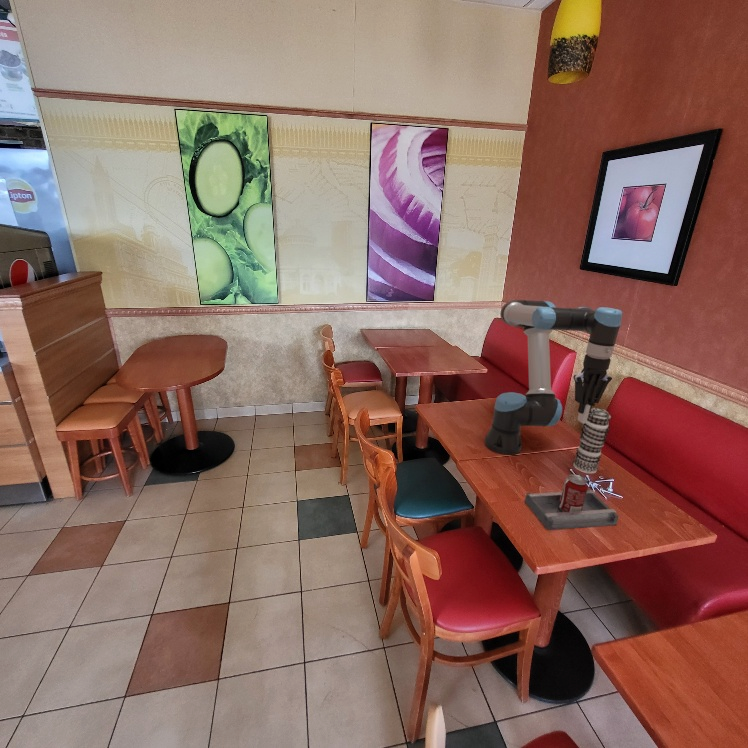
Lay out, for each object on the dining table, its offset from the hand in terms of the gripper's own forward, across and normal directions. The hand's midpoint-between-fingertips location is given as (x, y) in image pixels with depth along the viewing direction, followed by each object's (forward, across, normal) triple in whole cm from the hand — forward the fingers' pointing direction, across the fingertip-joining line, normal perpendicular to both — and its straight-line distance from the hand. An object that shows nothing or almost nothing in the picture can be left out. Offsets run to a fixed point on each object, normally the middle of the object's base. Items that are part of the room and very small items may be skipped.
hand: (581, 421), depth 139 cm
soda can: (+26, -8, -14) cm, 30 cm away
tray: (+26, -8, -14) cm, 31 cm away
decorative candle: (+27, +16, +11) cm, 33 cm away
